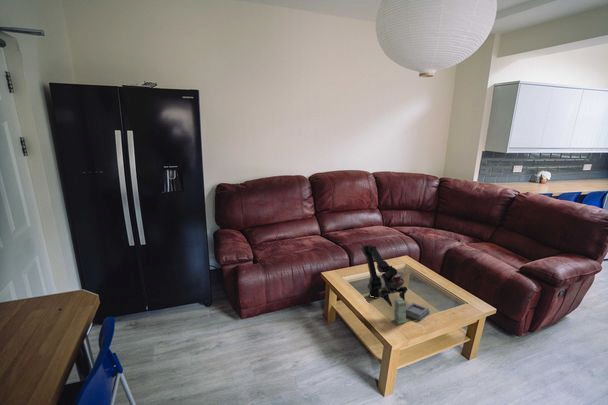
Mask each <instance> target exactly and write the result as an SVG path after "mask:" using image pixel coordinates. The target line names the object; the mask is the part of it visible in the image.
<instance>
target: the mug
mask: <svg viewBox="0 0 608 405" xmlns="http://www.w3.org/2000/svg"><path fill="white" fill-rule="evenodd" d="M401 275H402V274H400V273H398V272H397V275H396V276H395V277H394V278H392V279H393V281H395V283H397V281H401V282H402V285H404V283H405V281H404V279H403V278H401Z"/></svg>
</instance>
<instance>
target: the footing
mask: <svg viewBox="0 0 608 405" xmlns="http://www.w3.org/2000/svg"><path fill="white" fill-rule="evenodd" d="M430 312H431V310H430V309H429V308H428V307H426V306H423V305H421V304H417V303H415V302H412V303H410V304H409V305H406V317H407V316H408V317H410V318H411V319H415V320H416V321H419V322H421V321H422V320H424V319H425V318H426V317H427V316H429V315H430ZM423 318H424V319H423Z"/></svg>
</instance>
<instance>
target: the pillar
mask: <svg viewBox="0 0 608 405" xmlns="http://www.w3.org/2000/svg"><path fill="white" fill-rule="evenodd" d="M393 305H394V307H393V308H394V312H393V314H394V315H393V316H394V318H393V319H394V321H395V322H396V323H397V324H398V325H400V324H406V323H407V322H406V321H407V315H406V307H407V302H406V300H405V301H404V300H403V299H402V298H400V297H399V298H396V299H395V298H394V304H393Z"/></svg>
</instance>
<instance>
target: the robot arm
mask: <svg viewBox="0 0 608 405" xmlns="http://www.w3.org/2000/svg"><path fill="white" fill-rule="evenodd" d="M377 248H378V247H377V246H375V245H372V244H364V245H362V246H361V252H362V254H363V256H364V257H365V259H366V263H367V267H368V272H369V276H370V277H369V280H368V281H369V282H368V284H367V289H368V290H369V295H370V294H371V296H374V297H378V298H381V299H383V300H384V301H385V302H386V303H387V304H388V305H389V306H390V307H392V306H393V305H392V302H391V299H390V294H396V293H398V296H399V299H400V298H402V299H403V300H404V301H406V298H405V297H406V296H405V295H406V293H407V291H408V290H409V289H408V287H407V286H403V284H402V283H403V281H402V280H400V281H397V283H395V281H393V279H392V278H394V277H395V276H396V275H397V273H398V270H397V269H396V268H395V267H393V265H390V264H389V263H388V262H387V261H385V260H384V259H383V257H382V256H381V254H380V252H379V250H378V249H377ZM375 263H376V265H375ZM376 268H377V270H376ZM377 271H378V272H379V273H381V276H378V274H377ZM381 278H382V279H383V282H384V287H386V289H383V290H382V285H383V283H382V279H381Z"/></svg>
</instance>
